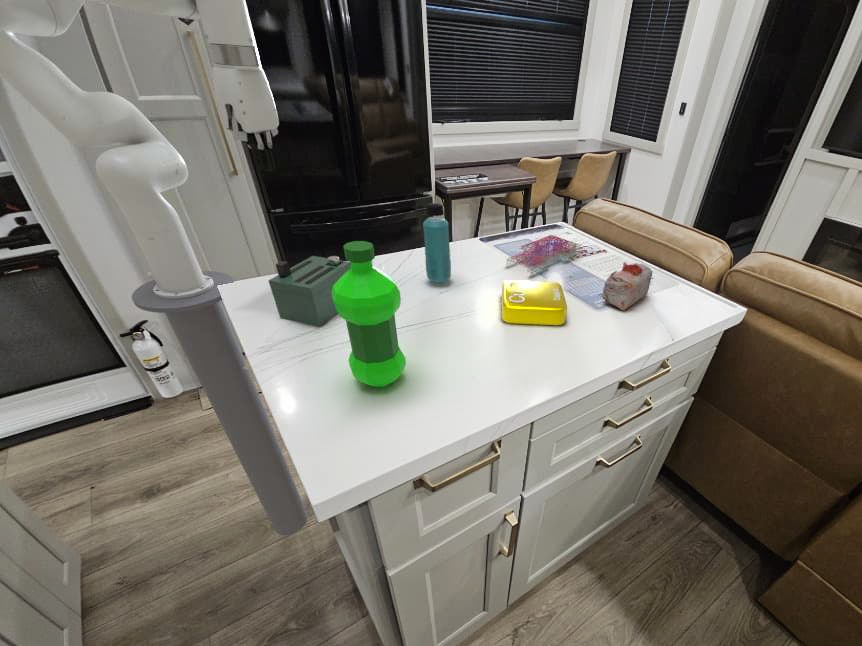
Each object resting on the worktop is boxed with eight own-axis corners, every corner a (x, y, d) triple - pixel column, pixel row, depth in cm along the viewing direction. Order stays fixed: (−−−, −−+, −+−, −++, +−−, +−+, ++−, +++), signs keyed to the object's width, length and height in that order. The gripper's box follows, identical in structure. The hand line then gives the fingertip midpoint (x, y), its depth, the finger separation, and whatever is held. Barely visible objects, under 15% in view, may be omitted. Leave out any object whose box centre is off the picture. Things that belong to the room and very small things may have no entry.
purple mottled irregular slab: (533, 281, 116) (534, 263, 113) (492, 265, 123) (493, 247, 120) (589, 254, 135) (592, 238, 132) (551, 242, 142) (553, 226, 139)
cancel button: (327, 268, 95) (325, 258, 94) (333, 264, 97) (331, 255, 96) (336, 269, 95) (335, 260, 94) (342, 266, 97) (341, 256, 95)
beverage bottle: (455, 285, 111) (453, 206, 99) (432, 289, 108) (427, 209, 96) (445, 275, 115) (442, 199, 103) (422, 279, 112) (416, 201, 100)
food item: (625, 314, 104) (634, 277, 98) (597, 303, 108) (605, 267, 102) (649, 297, 112) (659, 262, 106) (622, 288, 116) (631, 253, 110)
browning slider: (278, 275, 88) (275, 264, 87) (285, 272, 90) (281, 260, 88) (285, 276, 88) (282, 265, 86) (291, 273, 89) (288, 262, 88)
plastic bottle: (399, 357, 83) (383, 231, 68) (415, 388, 76) (401, 254, 60) (346, 369, 79) (317, 237, 64) (359, 402, 72) (328, 263, 56)
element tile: (565, 326, 97) (568, 308, 94) (501, 323, 96) (502, 304, 93) (558, 297, 109) (561, 280, 106) (501, 294, 108) (502, 277, 105)
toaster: (280, 318, 92) (267, 280, 86) (321, 290, 104) (312, 255, 98) (320, 326, 90) (310, 287, 85) (357, 297, 102) (350, 261, 96)
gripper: (249, 57, 82) (275, 161, 93) (183, 55, 70) (223, 174, 81) (282, 60, 81) (305, 165, 92) (221, 59, 69) (256, 179, 80)
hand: (266, 169), depth 87 cm, fingers closed
